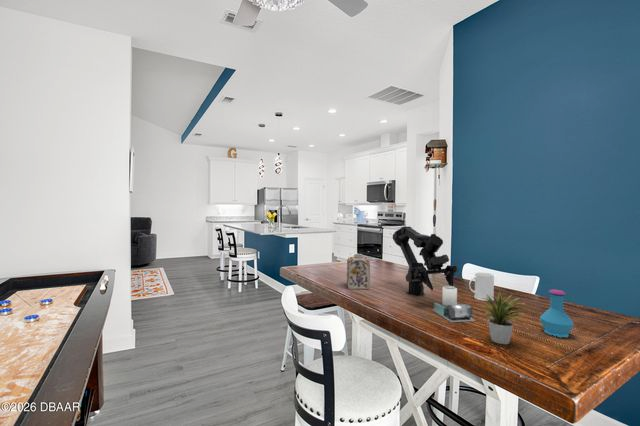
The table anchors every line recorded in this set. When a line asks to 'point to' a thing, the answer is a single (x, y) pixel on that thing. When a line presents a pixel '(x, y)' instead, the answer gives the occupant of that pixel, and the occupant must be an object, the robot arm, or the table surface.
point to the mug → (483, 286)
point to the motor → (455, 312)
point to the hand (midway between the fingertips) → (442, 289)
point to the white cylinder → (449, 296)
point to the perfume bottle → (556, 316)
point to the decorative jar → (358, 272)
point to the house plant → (501, 319)
